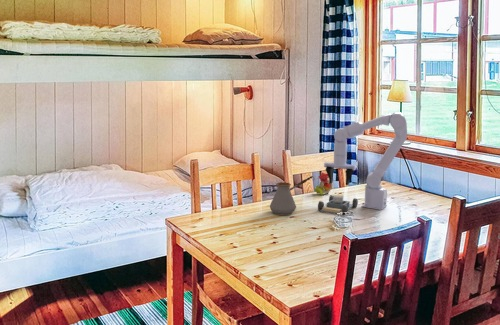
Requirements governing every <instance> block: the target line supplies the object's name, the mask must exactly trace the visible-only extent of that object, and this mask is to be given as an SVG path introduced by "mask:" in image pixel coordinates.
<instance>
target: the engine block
mask: <svg viewBox="0 0 500 325" xmlns="http://www.w3.org/2000/svg"><path fill="white" fill-rule="evenodd" d="M343 201H344V195H337V194H334V200H333V203H334V204H340V205H343Z"/></svg>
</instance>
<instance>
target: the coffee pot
mask: <svg viewBox="0 0 500 325" xmlns="http://www.w3.org/2000/svg"><path fill="white" fill-rule="evenodd" d="M310 179H312V181H315V180H316V179H315V177H314V175H311V176H309V177H307V178H306V179H303V180H301V181H300V182H298V183H297V184H296V185H294V186H291V185H292V184H291V183H290V182H284V181H283V182H277V183H275V185H276V191H275V192H274V195H273V198H272V200H271V202H270V205H269V208H270V210H271V211H272V213H273V214H275V215H277V216H288V215H289V216H290V215H292V213H293V212H295V211H296V209H297V205H296V203H295V200H294V198H293V195H292V192H291V191H292V190H294V189H296V188H297V187H299V186H301V185H303V184H305V183H306V182H307V181H310Z"/></svg>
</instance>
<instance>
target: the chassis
mask: <svg viewBox="0 0 500 325" xmlns="http://www.w3.org/2000/svg"><path fill="white" fill-rule="evenodd" d="M334 195H335V194H334ZM334 195H333V194H331V195H330V196H329V197H328V201H327V202H326V206H325V203H324V201H321V200H319V201H318V203H317V210H318V211H319V212H320V213H326V214H331V215H337V213H340V212H347V213H348V212H349V211H350V210H352V209H353V208H357V207H358V203H359V200H358V198H355V197H354V198H352V202H351V203H350V201H349V200H348V201H347V200H343V205H340V204H334V203H333V200H334Z"/></svg>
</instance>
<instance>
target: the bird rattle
mask: <svg viewBox="0 0 500 325" xmlns="http://www.w3.org/2000/svg"><path fill="white" fill-rule="evenodd" d="M318 179H319V181H320V182H319V185H318V184H316V187H315V188H314V189H313V190H314V192H315V193H316V194H317V193H319V195H320V196H321V195H322V196H324V195H325V194H327V193H328V194H329V193H330V192H331V191H332V189H333V183H330V181H329V177H328V174H327V173H324V172H321V174H320V175H319V176H318Z"/></svg>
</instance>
